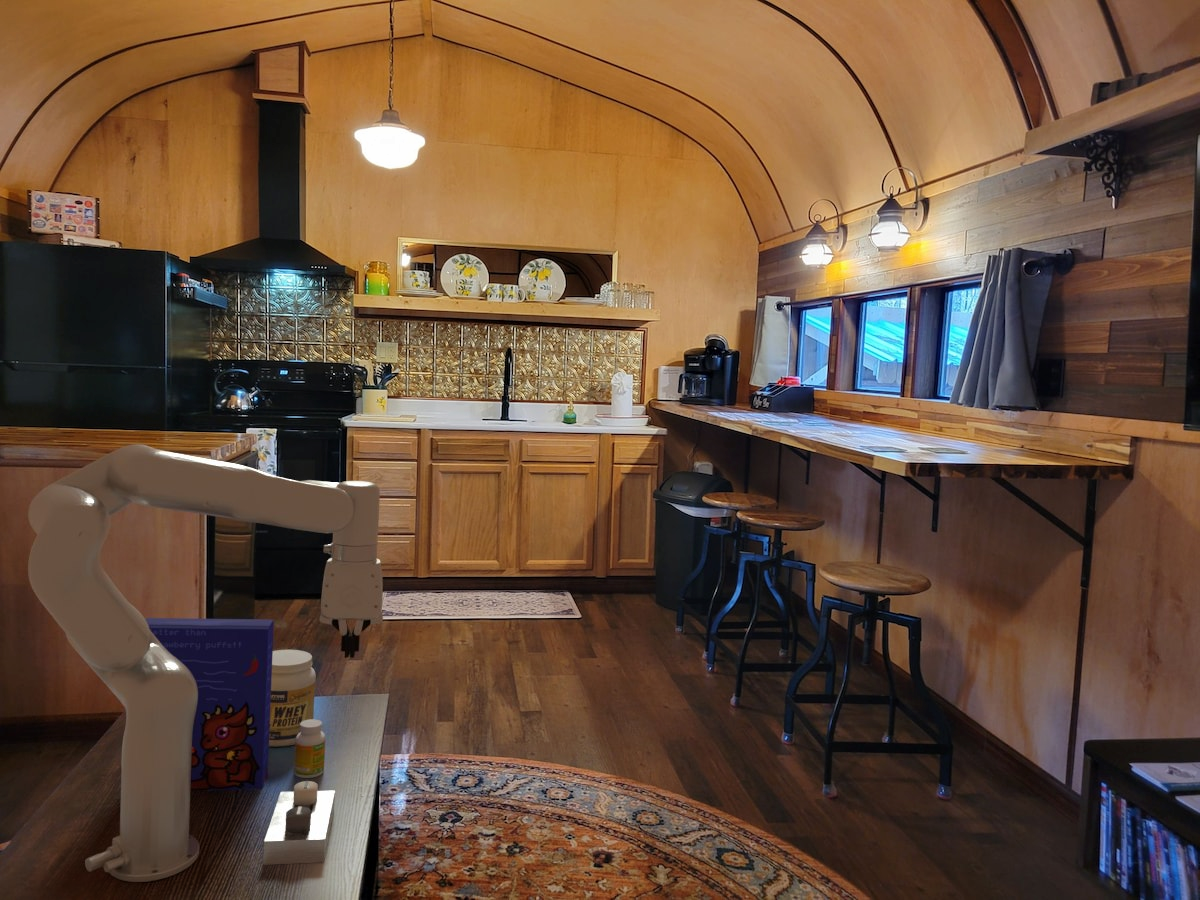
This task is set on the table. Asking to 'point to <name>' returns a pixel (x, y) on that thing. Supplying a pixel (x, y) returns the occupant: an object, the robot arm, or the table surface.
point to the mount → (299, 848)
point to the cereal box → (225, 696)
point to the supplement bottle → (309, 749)
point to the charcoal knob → (298, 820)
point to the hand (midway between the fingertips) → (349, 655)
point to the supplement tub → (290, 695)
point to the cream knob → (305, 793)
